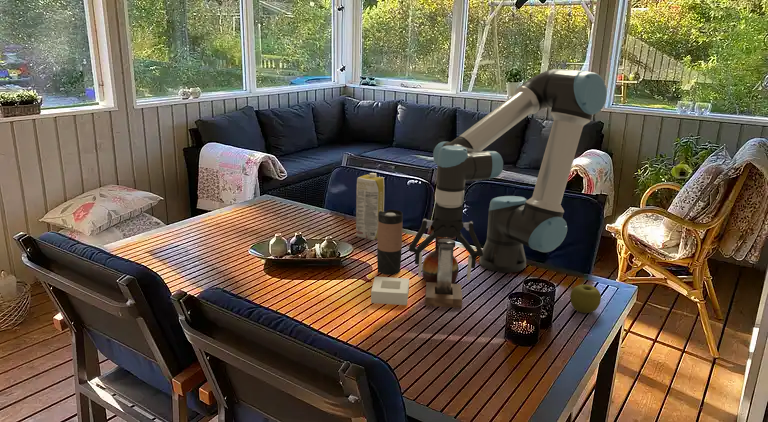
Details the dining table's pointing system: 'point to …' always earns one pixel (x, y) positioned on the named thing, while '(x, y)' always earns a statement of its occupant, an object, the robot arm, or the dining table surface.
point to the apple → (585, 298)
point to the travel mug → (389, 242)
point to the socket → (390, 290)
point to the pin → (445, 266)
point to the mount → (443, 296)
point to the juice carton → (369, 205)
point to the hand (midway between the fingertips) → (443, 276)
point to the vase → (436, 265)
